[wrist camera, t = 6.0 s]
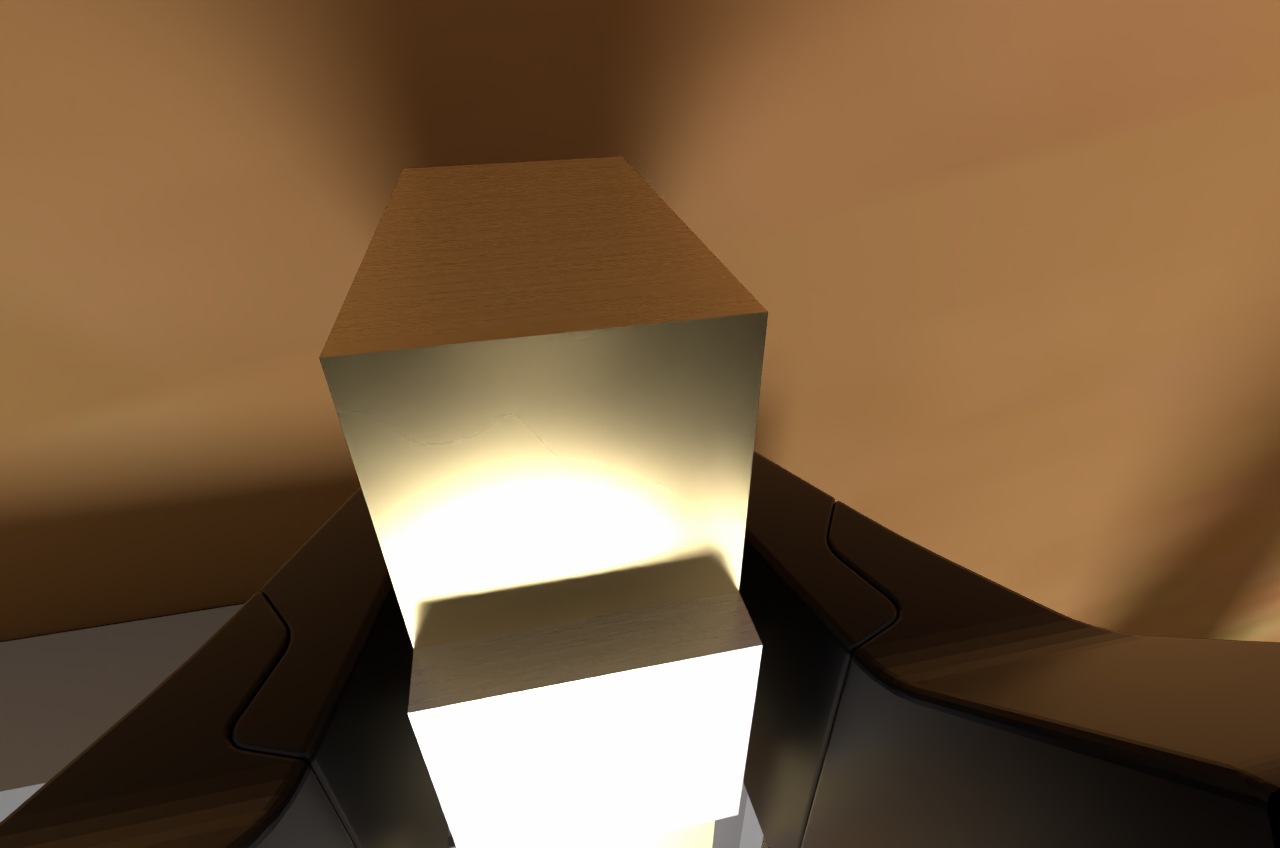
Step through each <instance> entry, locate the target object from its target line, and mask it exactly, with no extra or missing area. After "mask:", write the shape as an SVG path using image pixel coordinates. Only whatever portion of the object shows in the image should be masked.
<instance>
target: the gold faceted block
mask: <svg viewBox="0 0 1280 848" xmlns="http://www.w3.org/2000/svg"><path fill="white" fill-rule="evenodd" d="M767 317H768V311H767V310H766V309H765V308H764V307H763V306H762V305H761V304H760V303H759V302H758V301H757V300H756V299H755V298H754V297H753V295H752V294H751V293H750V292H749V291H748V290H747V289H746V288H745V287H744V286H743V285H742V284H741V283H740V282H739V281H738V280H737V278H736V277H735V276H734V275H733V274H732V273H731V272H730V271H729V270H728V269H727V268H726V267H725V266H724V265H723V264H722V263H721V261H720V260H719V259H718V258H717V257H716V256H715V255H714V254H713V253H712V252H711V251H710V250H709V249H708V248H707V247H706V245H705V244H704V243H703V242H702V241H701V240H700V239H699V238H698V237H697V236H696V235H695V234H694V233H693V232H692V231H691V230H690V228H689V227H688V226H687V225H686V224H685V223H684V222H683V221H682V220H681V219H680V218H679V217H678V216H677V215H676V214H675V213H674V211H673V210H672V209H671V208H670V207H669V206H668V205H667V204H666V203H665V202H664V201H663V200H662V199H661V198H660V197H659V196H658V194H657V193H656V192H655V191H654V190H653V189H652V188H651V187H650V186H649V185H648V184H647V183H646V182H645V181H644V180H643V178H642V177H641V176H640V175H639V174H638V173H637V172H636V171H635V170H634V169H633V168H632V167H631V166H630V165H629V164H628V163H627V161H626V160H625V159H624V158H623V157H622V156H619V157H601V158H584V159H566V160H549V161H531V162H514V163H496V164H478V165H461V166H443V167H426V168H408V169H403V170H402V172H401V175H400V177H399V179H398V181H397V184H396V186H395V188H394V190H393V193H392V195H391V197H390V199H389V202H388V204H387V206H386V209H385V211H384V213H383V215H382V218H381V220H380V222H379V224H378V227H377V229H376V231H375V233H374V236H373V238H372V240H371V242H370V245H369V247H368V249H367V251H366V254H365V256H364V258H363V260H362V263H361V265H360V267H359V269H358V272H357V274H356V276H355V278H354V281H353V283H352V285H351V287H350V290H349V292H348V294H347V296H346V299H345V301H344V303H343V305H342V308H341V310H340V312H339V314H338V317H337V319H336V321H335V323H334V326H333V328H332V330H331V332H330V335H329V337H328V339H327V341H326V344H325V346H324V348H323V351H322V353H321V355H320V357H319V358H320V362H321V365H322V368H323V371H324V374H325V377H326V380H327V383H328V386H329V389H330V392H331V395H332V398H333V402H334V405H335V408H336V411H337V414H338V417H339V420H340V423H341V426H342V429H343V432H344V435H345V439H346V442H347V445H348V448H349V451H350V454H351V457H352V460H353V463H354V466H355V469H356V472H357V475H358V479H359V482H360V485H361V488H362V491H363V494H364V497H365V500H366V503H367V506H368V509H369V512H370V515H371V519H372V522H373V525H374V528H375V531H376V534H377V537H378V540H379V543H380V546H381V549H382V552H383V555H384V559H385V562H386V565H387V568H388V571H389V574H390V577H391V580H392V583H393V586H394V589H395V592H396V596H397V599H398V602H399V605H400V608H401V611H402V614H403V617H404V620H405V623H406V626H407V629H408V632H409V636H410V639H411V642H412V645H413V648H414V653H413V663H412V674H411V684H410V694H409V704H408V716H409V719H410V721H411V724H412V727H413V730H414V732H415V735H416V738H417V741H418V743H419V746H420V749H421V752H422V754H423V757H424V760H425V763H426V765H427V768H428V771H429V773H430V776H431V779H432V782H433V784H434V787H435V790H436V793H437V795H438V798H439V801H440V804H441V806H442V809H443V812H444V815H445V817H446V820H447V823H448V826H449V828H450V831H451V834H452V837H453V839H454V842H455V845H456V847H457V848H712V843H713V834H714V824H715V820H719V819H723V818H727V817H731V816H735V815H738V813H739V806H740V799H741V792H742V785H743V778H744V771H745V764H746V757H747V750H748V743H749V736H750V729H751V722H752V715H753V708H754V701H755V694H756V687H757V680H758V674H759V667H760V660H761V653H762V646H763V645H762V642H761V640H760V638H759V636H758V633H757V631H756V629H755V627H754V624H753V622H752V620H751V618H750V615H749V613H748V611H747V609H746V606H745V604H744V602H743V600H742V597H741V595H740V593H739V585H740V575H741V566H742V556H743V547H744V537H745V528H746V518H747V508H748V499H749V489H750V480H751V470H752V461H753V451H754V442H755V432H756V422H757V413H758V403H759V394H760V384H761V375H762V365H763V355H764V346H765V336H766V327H767Z"/></svg>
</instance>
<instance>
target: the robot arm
mask: <svg viewBox="0 0 1280 848" xmlns="http://www.w3.org/2000/svg"><path fill="white" fill-rule="evenodd" d="M739 593H740V595H741V597H742V600H743V602H744V604H745V606H746V609H747V611H748V613H749V615H750V618H751V620H752V622H753V624H754V627H755V629H756V631H757V633H758V636H759V638H760V640H761V642H762V645H763V646H762V653H761V660H760V667H759V674H758V680H757V687H756V694H755V701H754V708H753V715H752V722H751V729H750V736H749V743H748V750H747V757H746V764H745V771H744V778H743V783H744V786H745V788H746V791H747V793H748V796H749V799H750V801H751V804H752V807H753V809H754V812H755V814H756V817H757V820H758V822H759V825H760V827H761V830H762V833H763V835H764V838H765V841H766V843H767V846H768V848H1280V643H1279V642H1258V641H1237V640H1216V639H1195V638H1174V637H1153V636H1141V635H1134V634H1127V633H1121V632H1115V631H1111V630H1107V629H1103V628H1099V627H1096V626H1092V625H1089V624H1086V623H1083V622H1080V621H1077V620H1075V619H1072V618H1070V617H1067V616H1065V615H1063V614H1060V613H1058V612H1056V611H1054V610H1051V609H1049V608H1047V607H1045V606H1043V605H1041V604H1039V603H1037V602H1035V601H1033V600H1031V599H1029V598H1027V597H1025V596H1022V595H1020V594H1018V593H1016V592H1014V591H1012V590H1010V589H1008V588H1006V587H1004V586H1002V585H1000V584H998V583H996V582H993V581H991V580H989V579H987V578H985V577H983V576H981V575H979V574H977V573H975V572H973V571H971V570H969V569H967V568H965V567H962V566H960V565H958V564H956V563H954V562H952V561H950V560H948V559H946V558H944V557H942V556H940V555H938V554H936V553H934V552H932V551H930V550H928V549H926V548H924V547H922V546H920V545H918V544H916V543H914V542H912V541H910V540H908V539H906V538H904V537H902V536H900V535H898V534H897V533H895V532H893V531H891V530H889V529H888V528H886V527H884V526H882V525H881V524H879V523H877V522H875V521H873V520H872V519H870V518H868V517H866V516H864V515H863V514H861V513H859V512H857V511H856V510H854V509H852V508H851V507H849V506H847V505H846V504H844V503H842V502H840V501H837V502H835V499H834V498H833V497H832V496H830V495H828V494H826V493H825V492H823V491H821V490H820V489H818V488H816V487H815V486H813V485H811V484H809V483H808V482H806V481H804V480H803V479H801V478H799V477H798V476H796V475H794V474H792V473H791V472H789V471H787V470H786V469H784V468H782V467H781V466H779V465H777V464H775V463H774V462H772V461H770V460H769V459H767V458H765V457H764V456H762V455H760V454H758V453H757V452H755V451H753V461H752V470H751V480H750V489H749V499H748V508H747V518H746V528H745V537H744V547H743V556H742V566H741V575H740V585H739ZM413 653H414V648H413V645H412V642H411V639H410V636H409V632H408V629H407V626H406V623H405V620H404V617H403V614H402V611H401V608H400V605H399V602H398V599H397V596H396V592H395V589H394V586H393V583H392V580H391V577H390V574H389V571H388V568H387V565H386V562H385V559H384V555H383V552H382V549H381V546H380V543H379V540H378V537H377V534H376V531H375V528H374V525H373V522H372V519H371V515H370V512H369V509H368V506H367V503H366V500H365V497H364V494H363V491H362V488H361V486H360V487H359V488H358V490H357V491H356V492H355V493H354V494H353V495H352V496H351V497H350V498H349V499H348V500H347V501H346V502H345V503H344V504H343V505H342V506H341V507H340V508H339V509H338V510H337V511H336V512H335V513H334V514H333V515H332V516H331V517H330V518H329V519H328V520H327V521H326V522H325V523H324V524H323V525H322V526H321V527H320V528H319V529H318V530H317V531H316V532H315V533H314V534H313V535H312V536H311V537H310V538H309V539H308V540H307V541H306V542H305V543H304V544H303V545H302V546H301V547H300V548H299V549H298V550H297V551H296V552H295V553H294V554H293V555H292V557H291V558H290V559H289V560H288V561H287V562H286V563H285V564H284V565H283V566H282V567H281V568H280V569H279V570H278V571H277V572H276V573H275V574H274V575H273V576H272V577H271V578H270V579H269V580H268V581H267V582H266V583H265V584H264V585H263V586H262V587H261V592H257V593H255V594H254V595H253V596H252V597H251V598H250V599H249V600H248V601H247V602H246V603H245V604H244V605H243V606H242V607H241V608H240V609H239V610H238V611H237V612H236V613H235V614H234V615H233V616H232V617H231V618H230V619H229V620H228V621H227V622H226V623H225V624H224V625H223V626H222V627H221V628H220V629H219V630H218V631H217V632H216V633H214V634H213V635H212V636H211V637H210V638H209V639H208V640H207V641H206V642H205V643H204V644H203V645H202V646H201V647H200V648H199V649H198V650H197V651H196V652H195V653H194V654H193V655H192V656H191V657H190V658H188V659H187V660H186V661H185V662H184V663H183V664H182V665H181V666H179V667H178V668H177V669H176V670H175V671H174V672H173V673H172V674H171V675H169V676H168V677H167V678H166V679H165V680H164V681H163V682H162V683H160V684H159V685H158V686H157V687H156V688H155V689H154V690H153V691H152V692H150V693H149V694H148V695H147V696H146V697H145V698H144V699H143V700H141V701H140V702H139V703H138V704H137V705H136V706H135V707H133V708H132V709H131V710H130V711H129V712H128V713H126V714H125V715H124V716H123V717H122V718H121V719H120V720H118V721H117V722H116V723H115V724H114V725H113V726H111V727H110V728H109V729H108V730H107V731H106V732H104V733H103V734H102V735H101V736H100V737H99V738H98V739H96V740H95V741H94V742H93V743H92V744H91V745H89V746H88V747H87V748H86V749H85V750H84V751H83V752H81V753H80V754H79V755H78V756H77V757H76V758H74V759H73V760H72V761H71V762H70V763H69V764H67V765H66V766H65V767H64V768H63V769H62V770H61V771H59V772H58V773H57V774H56V775H55V776H54V777H52V778H51V779H50V780H49V781H48V782H47V783H46V784H44V785H43V786H42V787H41V788H40V789H39V790H37V791H36V792H35V793H34V794H33V795H32V796H31V797H29V798H28V799H27V800H26V801H25V802H24V803H22V804H21V805H20V806H19V807H18V808H17V809H15V810H14V811H13V812H12V813H11V814H10V815H9V816H7V817H6V818H5V819H4V820H3V821H1V822H0V848H447V843H448V832H449V826H448V823H447V820H446V817H445V815H444V812H443V809H442V806H441V804H440V801H439V798H438V795H437V793H436V790H435V787H434V784H433V782H432V779H431V776H430V773H429V771H428V768H427V765H426V763H425V760H424V757H423V754H422V752H421V749H420V746H419V743H418V741H417V738H416V735H415V732H414V730H413V727H412V724H411V721H410V719H409V716H408V704H409V694H410V684H411V674H412V663H413Z"/></svg>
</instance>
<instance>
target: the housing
mask: <svg viewBox="0 0 1280 848" xmlns="http://www.w3.org/2000/svg"><path fill="white" fill-rule="evenodd" d="M243 605H244V604H240V605H234V606H228V607H221V608H215V609H209V610H202V611H196V612H190V613H183V614H177V615H171V616H164V617H158V618H152V619H145V620H139V621H133V622H126V623H120V624H114V625H107V626H101V627H95V628H88V629H82V630H76V631H69V632H63V633H57V634H50V635H44V636H38V637H31V638H25V639H19V640H12V641H6V642H0V822H1V821H3V820H4V819H5V818H6V817H7V816H9V815H10V814H11V813H12V812H13V811H14V810H15V809H17V808H18V807H19V806H20V805H21V804H22V803H24V802H25V801H26V800H27V799H28V798H29V797H31V796H32V795H33V794H34V793H35V792H36V791H37V790H39V789H40V788H41V787H42V786H43V785H44V784H46V783H47V782H48V781H49V780H50V779H51V778H52V777H54V776H55V775H56V774H57V773H58V772H59V771H61V770H62V769H63V768H64V767H65V766H66V765H67V764H69V763H70V762H71V761H72V760H73V759H74V758H76V757H77V756H78V755H79V754H80V753H81V752H83V751H84V750H85V749H86V748H87V747H88V746H89V745H91V744H92V743H93V742H94V741H95V740H96V739H98V738H99V737H100V736H101V735H102V734H103V733H104V732H106V731H107V730H108V729H109V728H110V727H111V726H113V725H114V724H115V723H116V722H117V721H118V720H120V719H121V718H122V717H123V716H124V715H125V714H126V713H128V712H129V711H130V710H131V709H132V708H133V707H135V706H136V705H137V704H138V703H139V702H140V701H141V700H143V699H144V698H145V697H146V696H147V695H148V694H149V693H150V692H152V691H153V690H154V689H155V688H156V687H157V686H158V685H159V684H160V683H162V682H163V681H164V680H165V679H166V678H167V677H168V676H169V675H171V674H172V673H173V672H174V671H175V670H176V669H177V668H178V667H179V666H181V665H182V664H183V663H184V662H185V661H186V660H187V659H188V658H190V657H191V656H192V655H193V654H194V653H195V652H196V651H197V650H198V649H199V648H200V647H201V646H202V645H203V644H204V643H205V642H206V641H207V640H208V639H209V638H210V637H211V636H212V635H213V634H214V633H216V632H217V631H218V630H219V629H220V628H221V627H222V626H223V625H224V624H225V623H226V622H227V621H228V620H229V619H230V618H231V617H232V616H233V615H234V614H235V613H236V612H237V611H238V610H239V609H240V608H241V607H242V606H243ZM763 836H764V835H763V833H762V830H761V827H760V825H759V822H758V820H757V817H756V814H755V812H754V809H753V807H752V804H751V801H750V799H749V796H748V793H747V791H746V788H745V786H744V783H743V785H742V792H741V799H740V806H739V813H738V815H735V816H731V817H727V818H723V819H719V820H715V824H714V834H713V843H712V848H761V846H762V841H763ZM447 848H457V847H456V845H455V842H454V839H453V837H452V834H451V831H450V828H449V832H448V843H447Z"/></svg>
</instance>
